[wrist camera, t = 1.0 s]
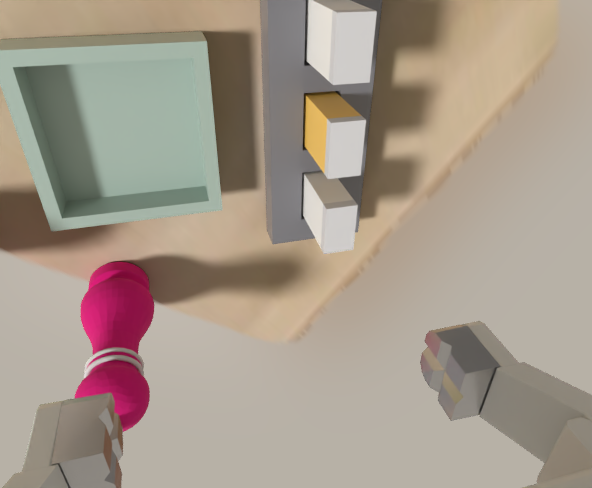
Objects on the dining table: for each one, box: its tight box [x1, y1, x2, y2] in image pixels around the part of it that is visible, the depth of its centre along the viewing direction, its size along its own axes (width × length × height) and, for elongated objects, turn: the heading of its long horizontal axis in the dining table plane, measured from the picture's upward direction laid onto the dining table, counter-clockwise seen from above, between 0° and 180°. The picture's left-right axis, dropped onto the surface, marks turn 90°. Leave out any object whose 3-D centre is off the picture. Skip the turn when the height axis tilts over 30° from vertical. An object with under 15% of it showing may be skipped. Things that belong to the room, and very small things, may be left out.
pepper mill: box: [75, 262, 154, 433], centre depth 44 cm, size 7×7×20 cm
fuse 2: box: [301, 171, 358, 254], centre depth 48 cm, size 5×3×10 cm, turn 0°
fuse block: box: [260, 0, 382, 244], centre depth 46 cm, size 27×10×3 cm, turn 0°
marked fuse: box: [303, 91, 366, 179], centre depth 43 cm, size 5×3×10 cm, turn 0°
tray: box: [0, 31, 222, 232], centre depth 41 cm, size 16×16×4 cm
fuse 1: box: [305, 0, 377, 85], centre depth 38 cm, size 5×3×10 cm, turn 0°
